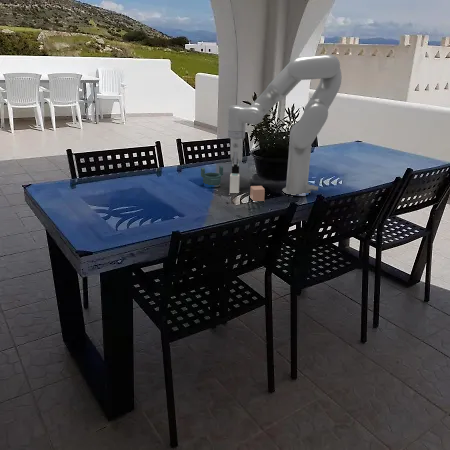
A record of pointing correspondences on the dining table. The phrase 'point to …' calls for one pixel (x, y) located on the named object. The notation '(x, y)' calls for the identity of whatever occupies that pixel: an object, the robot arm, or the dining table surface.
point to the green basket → (212, 176)
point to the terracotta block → (257, 193)
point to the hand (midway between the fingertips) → (235, 174)
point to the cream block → (234, 183)
